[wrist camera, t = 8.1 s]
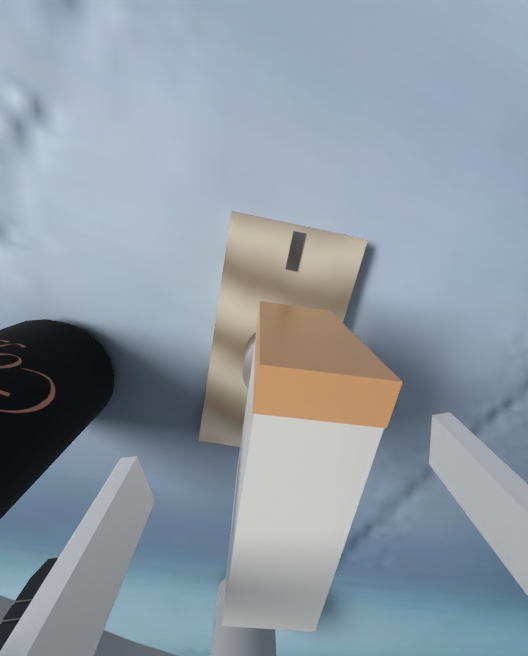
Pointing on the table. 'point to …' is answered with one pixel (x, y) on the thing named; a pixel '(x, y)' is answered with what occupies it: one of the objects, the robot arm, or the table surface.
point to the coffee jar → (45, 398)
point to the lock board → (268, 286)
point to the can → (239, 635)
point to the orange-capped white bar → (301, 464)
